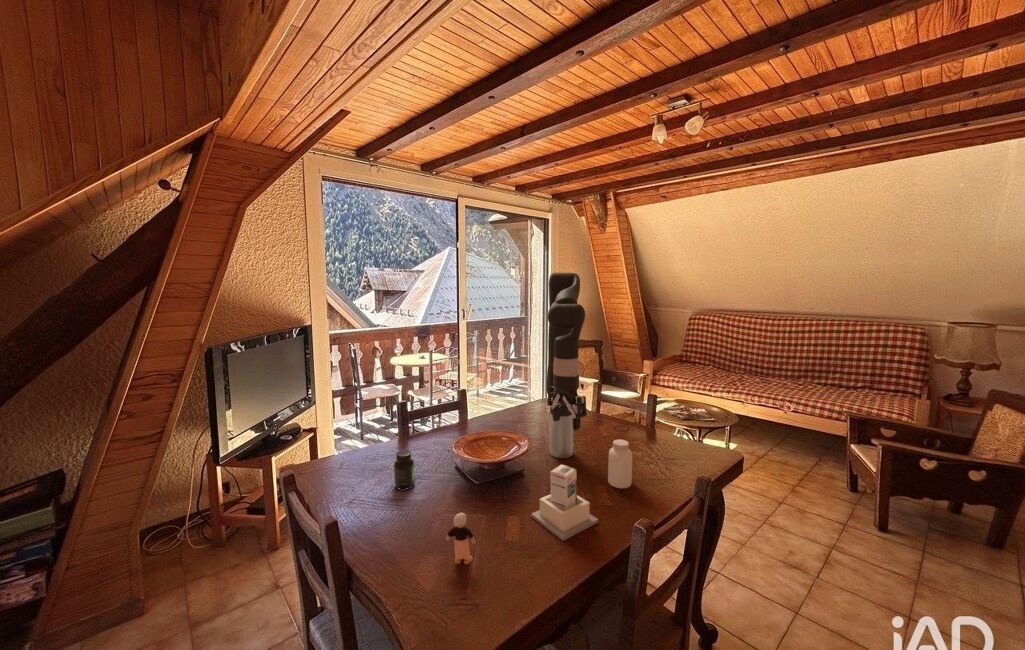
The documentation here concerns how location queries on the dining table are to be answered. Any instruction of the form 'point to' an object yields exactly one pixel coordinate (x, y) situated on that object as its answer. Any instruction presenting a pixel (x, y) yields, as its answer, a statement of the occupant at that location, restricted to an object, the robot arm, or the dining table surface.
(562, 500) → the syrup box
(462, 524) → the grandmother figurine
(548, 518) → the socket
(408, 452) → the supplement bottle
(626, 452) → the pill bottle
